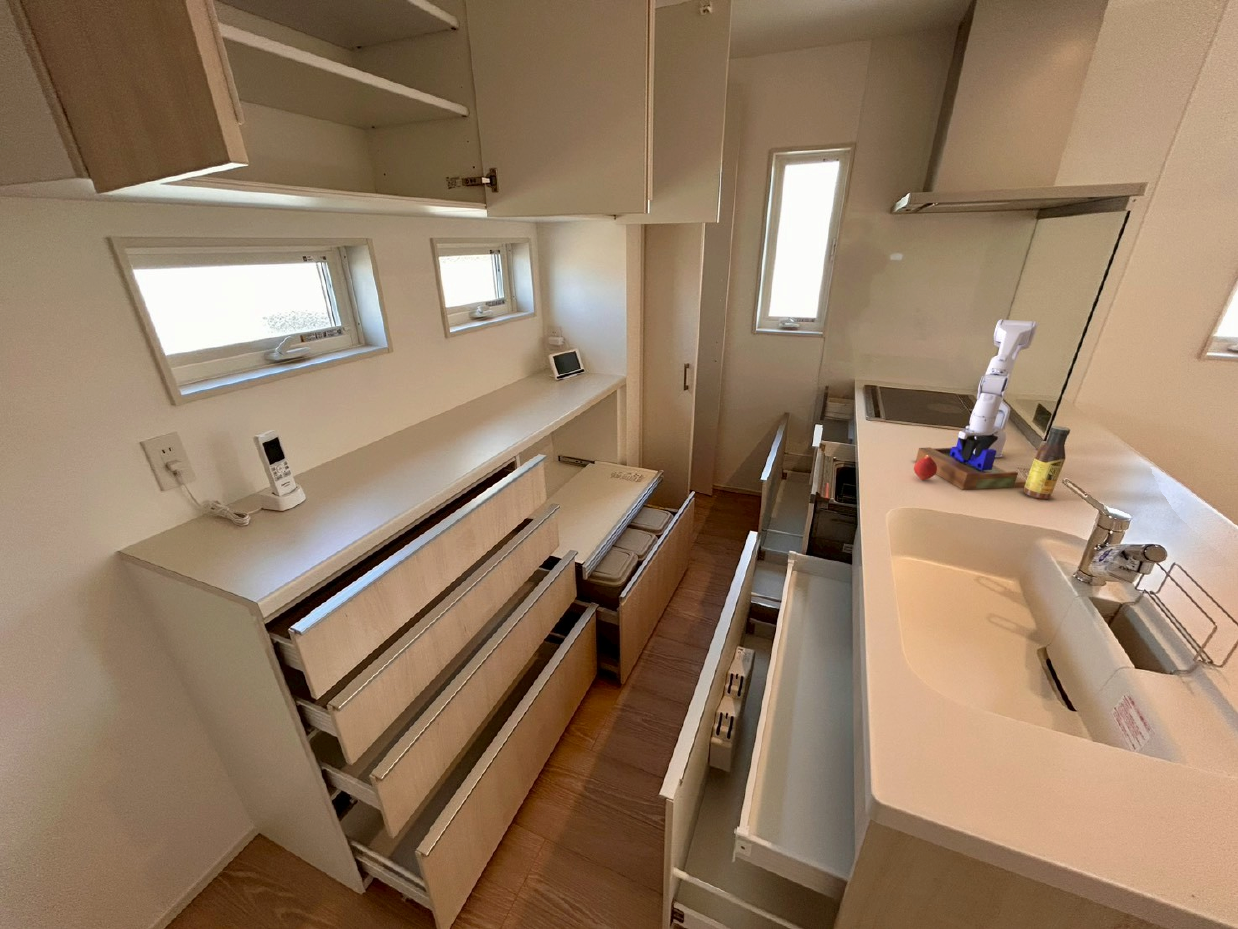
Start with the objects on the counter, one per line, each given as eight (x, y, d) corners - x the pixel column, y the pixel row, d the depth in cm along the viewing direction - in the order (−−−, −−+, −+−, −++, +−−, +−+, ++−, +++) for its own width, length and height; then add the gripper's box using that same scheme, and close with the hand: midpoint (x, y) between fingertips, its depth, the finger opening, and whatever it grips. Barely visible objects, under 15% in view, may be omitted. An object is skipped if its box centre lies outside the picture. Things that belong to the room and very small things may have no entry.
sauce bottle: (1043, 502, 136) (1068, 433, 128) (1017, 493, 141) (1040, 426, 133) (1055, 497, 138) (1080, 429, 131) (1029, 488, 144) (1052, 423, 136)
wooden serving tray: (972, 459, 164) (976, 445, 162) (1026, 486, 145) (1031, 470, 143) (915, 462, 162) (918, 447, 160) (962, 489, 143) (967, 473, 141)
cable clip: (949, 455, 158) (953, 437, 155) (963, 454, 158) (967, 437, 156) (976, 470, 147) (981, 451, 144) (991, 469, 147) (996, 450, 144)
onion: (931, 477, 151) (937, 453, 148) (935, 485, 146) (942, 459, 143) (909, 475, 153) (915, 450, 150) (913, 482, 148) (919, 457, 145)
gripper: (989, 409, 152) (977, 450, 157) (954, 414, 148) (942, 456, 153) (1012, 415, 146) (999, 458, 151) (976, 420, 142) (963, 464, 147)
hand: (972, 458), depth 152 cm, fingers closed on cable clip, 5 cm apart
